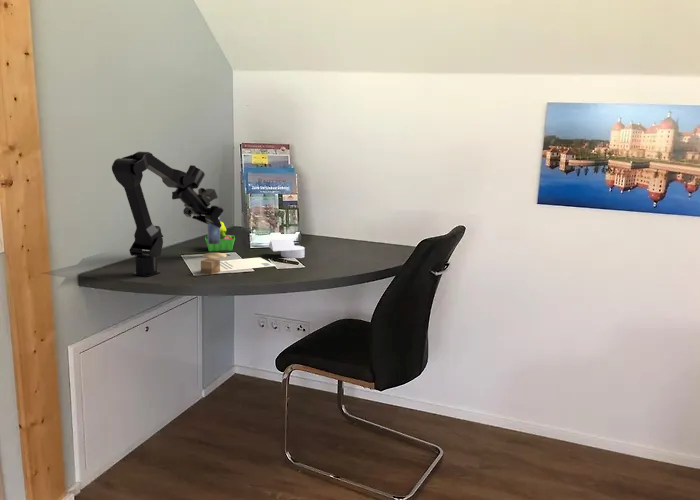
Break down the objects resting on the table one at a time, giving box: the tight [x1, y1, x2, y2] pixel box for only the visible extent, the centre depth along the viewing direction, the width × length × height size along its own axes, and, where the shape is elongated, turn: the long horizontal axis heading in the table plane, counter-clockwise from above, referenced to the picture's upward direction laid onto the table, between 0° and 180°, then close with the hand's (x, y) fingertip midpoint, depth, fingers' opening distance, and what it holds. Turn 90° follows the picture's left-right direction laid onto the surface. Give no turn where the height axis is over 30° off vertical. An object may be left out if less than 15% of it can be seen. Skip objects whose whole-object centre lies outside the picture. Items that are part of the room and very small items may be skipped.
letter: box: [220, 257, 277, 272], centre depth 224 cm, size 21×15×1 cm
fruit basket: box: [204, 220, 236, 252], centre depth 247 cm, size 11×9×11 cm
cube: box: [200, 258, 221, 275], centre depth 211 cm, size 4×4×4 cm
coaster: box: [201, 252, 227, 260], centre depth 235 cm, size 9×9×1 cm
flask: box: [206, 215, 221, 244], centre depth 233 cm, size 5×5×12 cm
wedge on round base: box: [268, 238, 306, 259], centre depth 239 cm, size 9×7×13 cm
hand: (216, 225), depth 234 cm, fingers closed on flask, 5 cm apart
